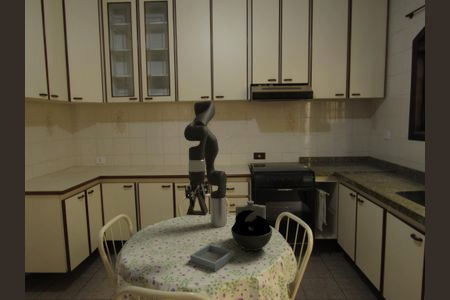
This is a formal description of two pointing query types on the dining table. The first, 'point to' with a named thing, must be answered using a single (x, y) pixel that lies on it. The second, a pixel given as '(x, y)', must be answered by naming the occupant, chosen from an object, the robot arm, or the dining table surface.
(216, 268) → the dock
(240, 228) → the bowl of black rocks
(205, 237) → the dining table surface
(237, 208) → the hip flask
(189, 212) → the phone stand
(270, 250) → the dining table surface
